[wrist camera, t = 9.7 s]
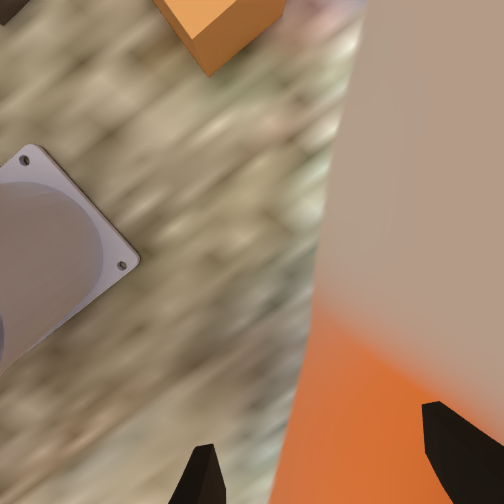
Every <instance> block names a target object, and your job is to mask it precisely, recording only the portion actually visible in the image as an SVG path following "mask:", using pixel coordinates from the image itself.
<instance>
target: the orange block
mask: <svg viewBox="0 0 504 504" xmlns="http://www.w3.org/2000/svg"><path fill="white" fill-rule="evenodd" d="M153 2H154V3H155V5H156V6H157V7H158V9H159V10H160V12H161V13H162V14H163V16H164V17H165V18H166V20H167V21H168V23H169V24H170V25H171V27H172V28H173V30H174V31H175V32H176V34H177V35H178V36H179V38H180V39H181V41H182V42H183V43H184V45H185V46H186V48H187V49H188V50H189V52H190V53H191V54H192V56H193V57H194V59H195V60H196V61H197V63H198V64H199V66H200V67H201V68H202V70H203V71H204V72H205V74H206V75H207V77H210V76H211V75H212V74H213V73H214V72H216V71H217V70H218V69H219V68H220V67H221V66H223V65H224V64H225V63H226V62H227V61H229V60H230V59H231V58H232V57H233V56H234V55H236V54H237V53H238V52H239V51H240V50H242V49H243V48H244V47H245V46H246V45H247V44H249V43H250V42H251V41H252V40H253V39H255V38H256V37H257V36H258V35H259V34H260V33H262V32H263V31H264V30H265V29H266V28H268V27H269V26H270V25H271V24H272V23H273V22H275V21H276V20H277V19H278V18H279V17H280V16H282V13H283V10H284V6H285V3H286V0H153Z"/></svg>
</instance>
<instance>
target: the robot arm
mask: <svg viewBox="0 0 504 504" xmlns="http://www.w3.org/2000/svg"><path fill="white" fill-rule="evenodd" d="M25 156H27V157H28V158H29V160H30V163H29V165H26V164H25V163H24V157H25ZM120 261H122V262H125V263H126V265H127V268H122V267H121V266H120ZM139 261H140V257H139V255H138V253H137V252H136V251H135V250H134V249H133V248H132V247H131V246H130V245H129V243H128V242H127V241H126V240H125V239H124V238H123V237H122V236H121V235H120V233H119V232H118V231H117V230H116V229H115V228H114V227H113V226H112V225H111V224H110V222H109V221H108V220H107V219H106V218H105V217H104V216H103V215H102V214H101V212H100V211H99V210H98V209H97V208H96V207H95V206H94V205H93V204H92V202H91V201H90V200H89V199H88V198H87V197H86V196H85V195H84V194H83V192H82V191H81V190H80V189H79V188H78V187H77V186H76V185H75V184H74V183H73V181H72V180H71V179H70V178H69V177H68V176H67V175H66V174H65V173H64V171H63V170H62V169H61V168H60V167H59V166H58V165H57V164H56V163H55V161H54V160H53V159H52V158H51V157H50V156H49V155H48V154H47V153H46V152H45V150H44V149H43V148H42V147H40V146H39V145H36V144H27V145H25V146H24V147H23V148H22V149H21V150H19V151H18V152H17V153H16V154H15V155H14V156H13V157H12V158H11V159H9V160H8V161H7V162H6V163H5V164H4V165H3V166H2V167H1V168H0V375H2V374H3V373H4V372H5V371H6V370H7V369H8V368H9V367H10V366H11V365H12V364H13V363H15V362H16V361H17V360H18V359H19V358H20V357H21V356H22V355H23V354H25V353H27V352H28V351H29V350H31V349H32V348H33V347H34V346H36V345H37V344H38V343H40V342H41V341H42V340H43V339H45V338H46V337H47V336H48V335H50V334H51V333H52V332H54V331H55V330H56V329H57V328H59V327H60V326H61V325H62V324H64V323H65V322H66V321H68V320H69V319H70V318H71V317H73V316H74V315H75V314H76V313H78V312H79V311H80V310H82V309H83V308H84V307H85V306H87V305H88V304H89V303H90V302H92V301H93V300H94V299H96V298H97V297H98V296H99V295H101V294H102V293H103V292H104V291H106V290H107V289H108V288H110V287H111V286H112V285H113V284H115V283H116V282H117V281H118V280H120V279H121V278H122V277H124V276H125V275H126V274H127V273H129V272H130V271H131V270H132V269H134V268H135V267H136V266H137V265H138V264H139ZM422 416H423V430H424V443H425V453H426V455H427V457H428V459H429V461H430V463H431V465H432V467H433V469H434V471H435V473H436V475H437V477H438V479H439V481H440V483H441V485H442V486H443V488H444V489H445V491H446V493H447V494H448V496H449V497H450V499H451V500H452V502H453V504H504V446H502V445H501V444H500V443H498V442H497V441H495V440H494V439H492V438H491V437H489V436H488V435H486V434H485V433H483V432H482V431H481V430H479V429H478V428H476V427H475V426H474V425H472V424H471V423H469V422H468V421H467V420H465V419H464V418H462V417H461V416H460V415H458V414H457V413H456V412H454V411H453V410H451V409H450V408H448V407H447V406H446V405H444V404H443V403H441V402H440V401H438V402H432V403H427V404H422ZM168 504H226V487H225V484H224V480H223V477H222V473H221V470H220V466H219V463H218V459H217V455H216V452H215V448H214V445H213V444H208V445H202V446H197V447H195V448H194V450H193V452H192V454H191V457H190V459H189V461H188V464H187V466H186V468H185V470H184V472H183V475H182V477H181V479H180V481H179V483H178V485H177V487H176V489H175V491H174V493H173V495H172V497H171V499H170V501H169V503H168Z"/></svg>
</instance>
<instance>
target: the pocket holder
mask: <svg viewBox="0 0 504 504" xmlns="http://www.w3.org/2000/svg"><path fill="white" fill-rule="evenodd" d="M28 1H29V0H0V24H1V25H4V24H5V23H6V22H7V21H8V20H10V19H11V18H12V17H13V16H14V15H15V14H16V13H17V12H18V11H19V10H20V9H21V8H22V7H23V6H24V5H25V4H26V3H27V2H28Z"/></svg>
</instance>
